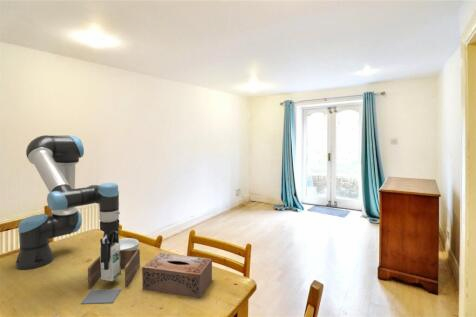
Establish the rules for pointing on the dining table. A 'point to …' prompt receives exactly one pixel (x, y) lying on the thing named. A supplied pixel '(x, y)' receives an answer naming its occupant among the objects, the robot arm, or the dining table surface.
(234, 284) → the dining table surface
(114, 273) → the syrup box
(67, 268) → the dining table surface
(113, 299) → the grey mat
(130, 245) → the cereal bowl
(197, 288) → the tissue box cover
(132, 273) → the open-sided crate
